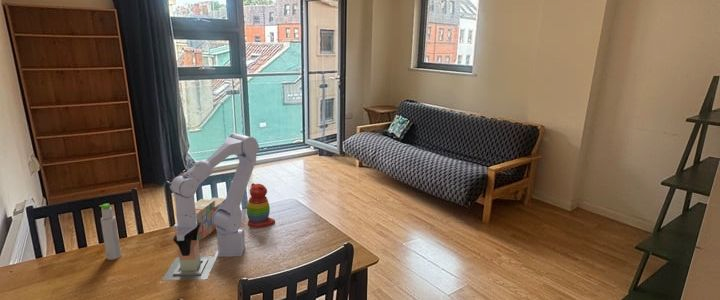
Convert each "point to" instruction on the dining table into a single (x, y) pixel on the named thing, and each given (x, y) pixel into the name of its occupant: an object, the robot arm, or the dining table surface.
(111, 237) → the bottle
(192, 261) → the sage brick
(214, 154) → the robot arm
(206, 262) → the baseplate
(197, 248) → the peach block
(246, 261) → the dining table surface
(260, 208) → the stacking bear
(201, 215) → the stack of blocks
